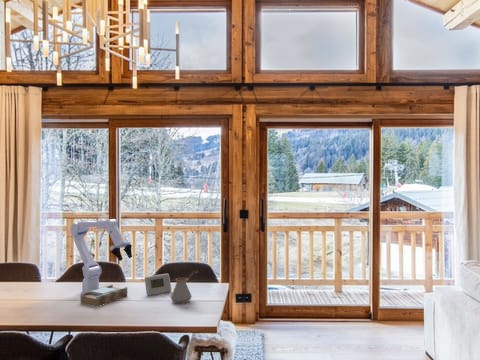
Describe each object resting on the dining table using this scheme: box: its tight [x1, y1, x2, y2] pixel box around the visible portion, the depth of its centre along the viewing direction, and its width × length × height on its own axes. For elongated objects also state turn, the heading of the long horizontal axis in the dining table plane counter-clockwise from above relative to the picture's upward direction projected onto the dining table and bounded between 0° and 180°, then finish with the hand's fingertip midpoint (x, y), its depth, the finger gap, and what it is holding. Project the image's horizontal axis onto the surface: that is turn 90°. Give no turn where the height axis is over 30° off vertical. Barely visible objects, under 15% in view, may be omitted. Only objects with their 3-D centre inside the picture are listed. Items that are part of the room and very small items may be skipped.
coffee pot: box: [170, 269, 199, 305], centre depth 222 cm, size 21×12×15 cm, turn 153°
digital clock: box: [144, 273, 172, 296], centre depth 236 cm, size 16×9×11 cm, turn 116°
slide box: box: [80, 284, 128, 307], centre depth 222 cm, size 22×13×5 cm, turn 152°
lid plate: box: [91, 286, 117, 295], centre depth 221 cm, size 10×9×2 cm
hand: (126, 258), depth 226 cm, fingers open, 7 cm apart
